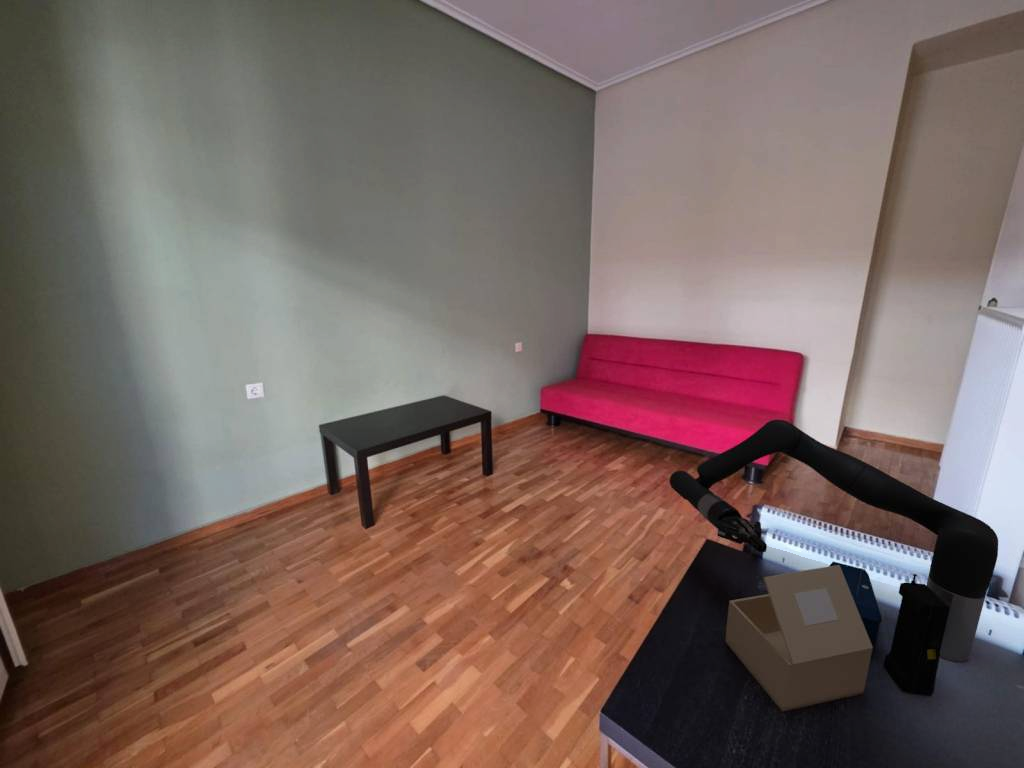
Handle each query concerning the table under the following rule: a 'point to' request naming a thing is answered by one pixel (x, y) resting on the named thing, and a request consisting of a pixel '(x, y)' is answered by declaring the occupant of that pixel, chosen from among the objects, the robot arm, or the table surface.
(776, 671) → the kraft carton
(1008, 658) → the table surface
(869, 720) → the table surface
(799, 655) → the carton flap
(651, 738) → the table surface
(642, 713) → the table surface
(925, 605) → the portable radio
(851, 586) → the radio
